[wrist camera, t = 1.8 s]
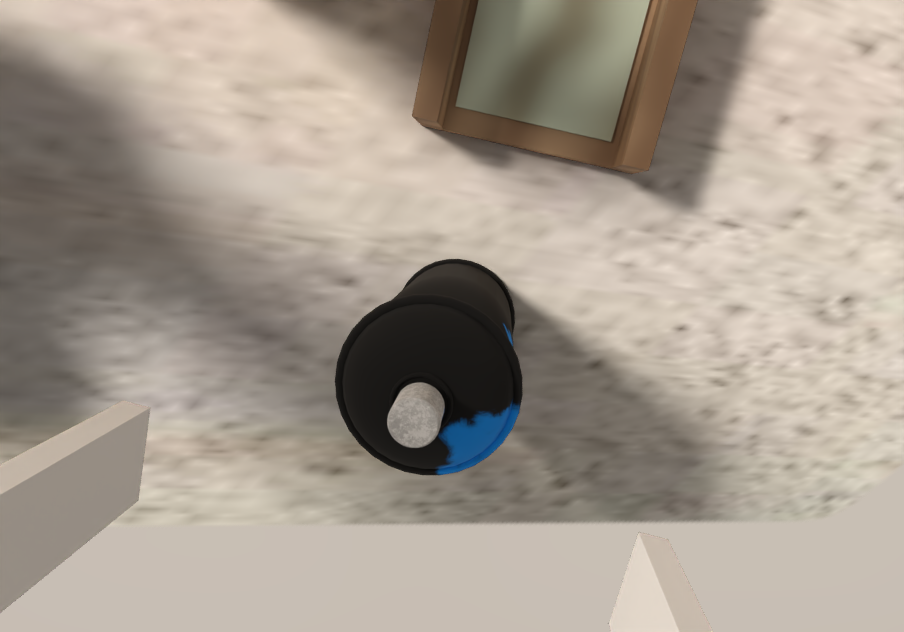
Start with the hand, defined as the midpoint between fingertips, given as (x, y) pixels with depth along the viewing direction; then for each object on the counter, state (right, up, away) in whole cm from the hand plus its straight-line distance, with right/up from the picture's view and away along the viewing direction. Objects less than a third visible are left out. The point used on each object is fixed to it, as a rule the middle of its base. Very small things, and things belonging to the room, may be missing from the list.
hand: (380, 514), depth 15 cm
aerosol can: (+2, +5, +26) cm, 27 cm away
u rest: (+8, +23, +22) cm, 32 cm away
